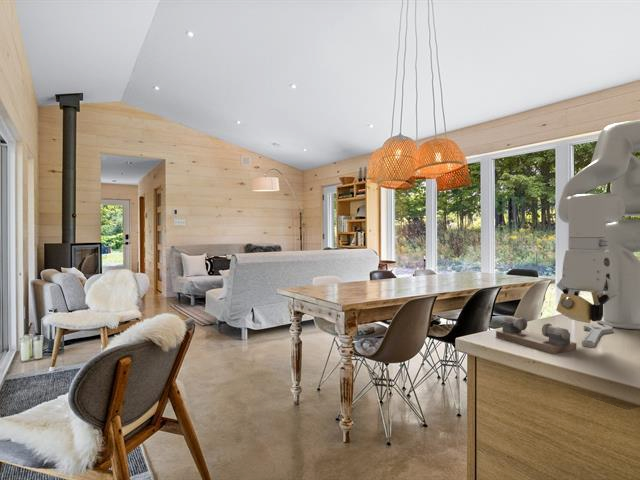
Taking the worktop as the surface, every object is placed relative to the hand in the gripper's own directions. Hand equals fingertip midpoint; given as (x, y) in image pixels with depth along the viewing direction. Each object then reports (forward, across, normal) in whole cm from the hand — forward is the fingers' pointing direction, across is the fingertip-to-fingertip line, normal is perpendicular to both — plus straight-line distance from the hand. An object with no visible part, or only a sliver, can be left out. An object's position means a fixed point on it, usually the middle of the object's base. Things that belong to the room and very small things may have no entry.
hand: (585, 317), depth 100 cm
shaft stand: (+6, +6, +11) cm, 14 cm away
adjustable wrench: (+8, +4, -9) cm, 13 cm away
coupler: (-1, 0, +1) cm, 2 cm away
